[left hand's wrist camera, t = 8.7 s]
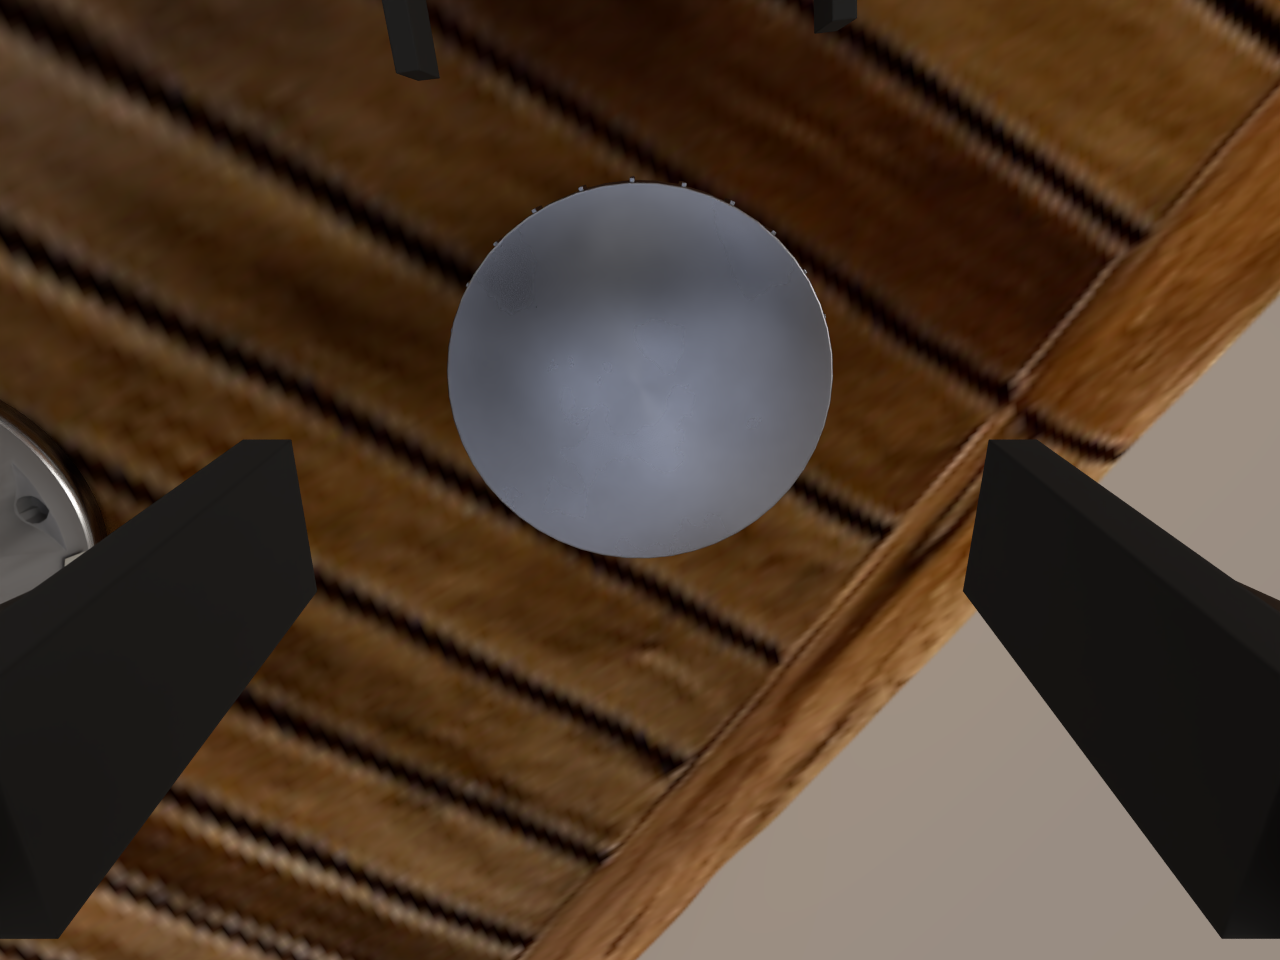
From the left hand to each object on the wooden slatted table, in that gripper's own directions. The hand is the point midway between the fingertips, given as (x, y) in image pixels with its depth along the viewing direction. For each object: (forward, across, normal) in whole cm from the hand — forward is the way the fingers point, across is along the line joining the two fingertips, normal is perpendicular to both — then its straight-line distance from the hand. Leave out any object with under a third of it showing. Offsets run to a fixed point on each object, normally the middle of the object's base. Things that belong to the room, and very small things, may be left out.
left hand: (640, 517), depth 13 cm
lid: (+8, 0, 0) cm, 8 cm away
